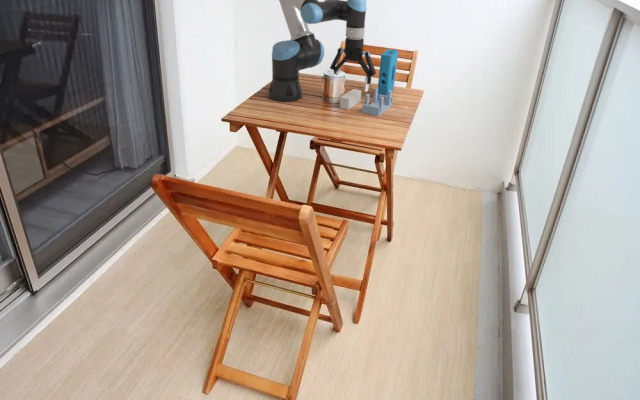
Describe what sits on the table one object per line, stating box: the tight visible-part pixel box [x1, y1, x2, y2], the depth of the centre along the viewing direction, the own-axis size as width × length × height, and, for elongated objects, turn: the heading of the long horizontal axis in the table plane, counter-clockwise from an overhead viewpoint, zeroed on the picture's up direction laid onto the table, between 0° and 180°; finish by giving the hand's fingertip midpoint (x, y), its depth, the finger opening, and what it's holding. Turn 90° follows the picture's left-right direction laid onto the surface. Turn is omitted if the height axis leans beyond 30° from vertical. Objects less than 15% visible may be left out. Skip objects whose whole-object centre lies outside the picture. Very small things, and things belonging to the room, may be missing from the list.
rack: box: [361, 87, 394, 117], centre depth 207 cm, size 17×8×7 cm, turn 153°
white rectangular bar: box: [339, 88, 362, 111], centre depth 211 cm, size 14×4×5 cm, turn 153°
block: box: [377, 48, 399, 96], centre depth 218 cm, size 12×5×20 cm, turn 158°
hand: (351, 88), depth 208 cm, fingers open, 13 cm apart
